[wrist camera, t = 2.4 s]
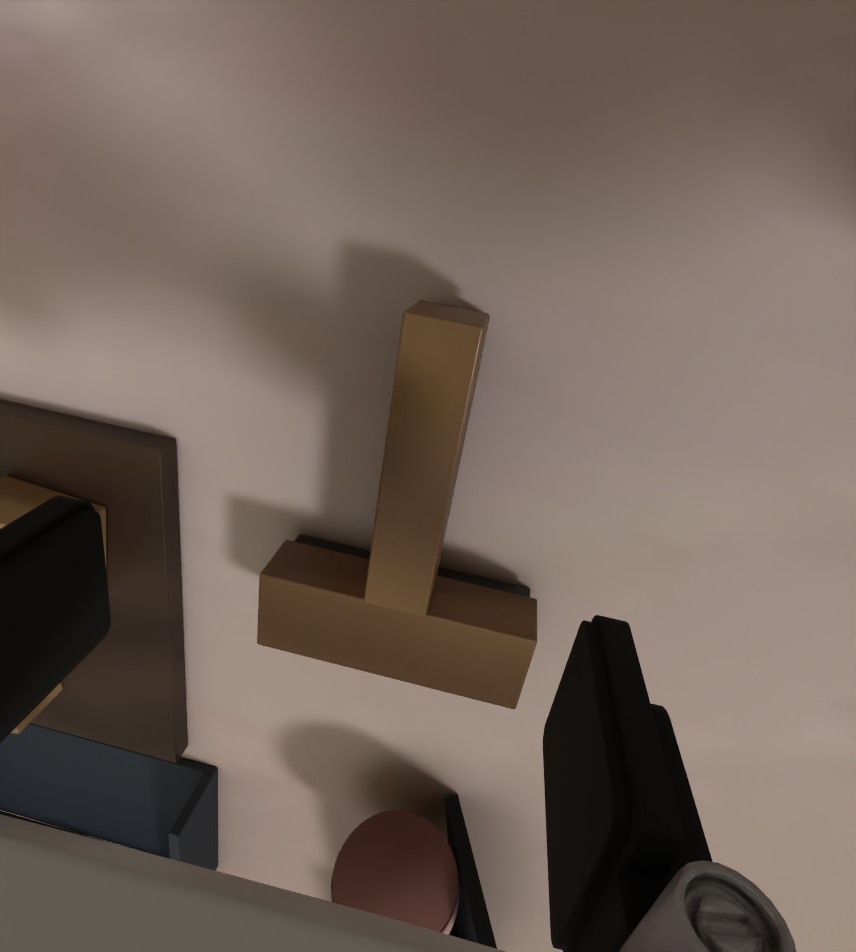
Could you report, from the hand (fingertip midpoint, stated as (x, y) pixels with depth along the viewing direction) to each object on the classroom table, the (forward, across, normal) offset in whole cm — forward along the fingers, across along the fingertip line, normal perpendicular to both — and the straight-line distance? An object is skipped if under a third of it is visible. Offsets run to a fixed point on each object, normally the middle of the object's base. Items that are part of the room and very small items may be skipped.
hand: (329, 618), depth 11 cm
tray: (+9, +14, +10) cm, 20 cm away
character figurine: (+9, -5, +22) cm, 24 cm away
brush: (+9, -1, +1) cm, 9 cm away
